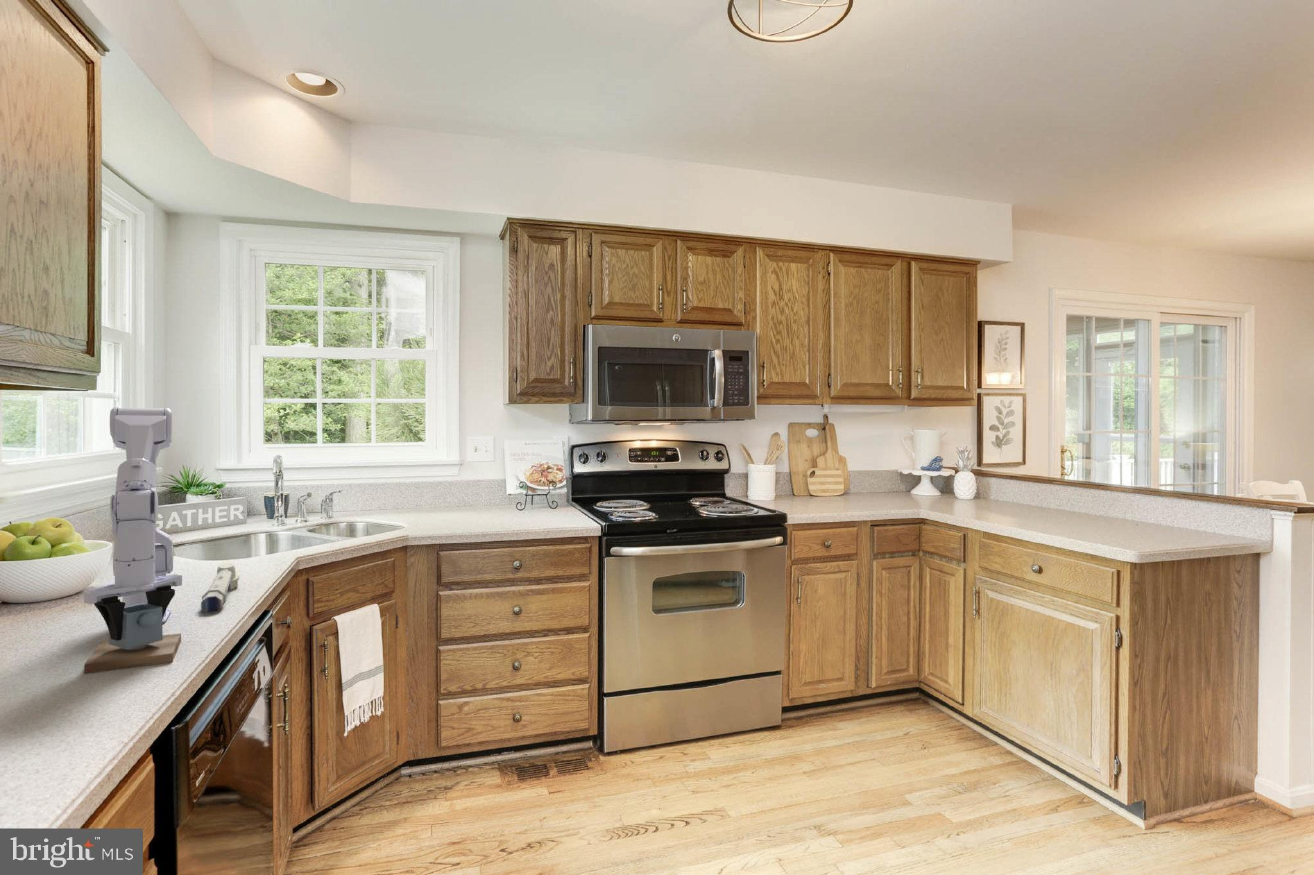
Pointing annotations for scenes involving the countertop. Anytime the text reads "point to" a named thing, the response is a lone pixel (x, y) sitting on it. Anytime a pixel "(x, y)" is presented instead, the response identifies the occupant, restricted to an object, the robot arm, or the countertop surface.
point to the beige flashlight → (220, 588)
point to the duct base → (132, 655)
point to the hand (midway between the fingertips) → (135, 634)
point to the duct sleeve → (140, 626)
